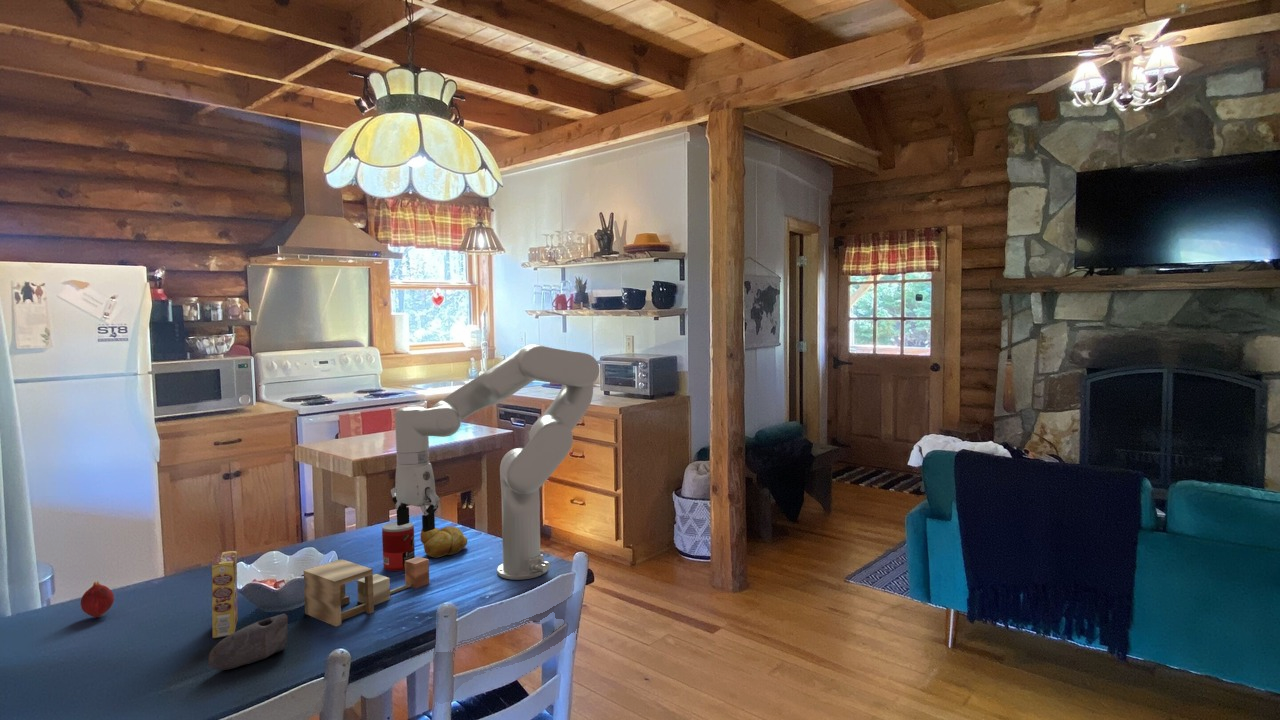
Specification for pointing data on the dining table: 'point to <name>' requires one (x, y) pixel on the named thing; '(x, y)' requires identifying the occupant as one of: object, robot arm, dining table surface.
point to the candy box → (224, 594)
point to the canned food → (397, 545)
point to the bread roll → (443, 541)
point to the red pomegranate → (97, 600)
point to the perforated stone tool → (250, 643)
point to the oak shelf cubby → (335, 590)
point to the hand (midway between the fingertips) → (415, 527)
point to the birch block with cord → (381, 587)
